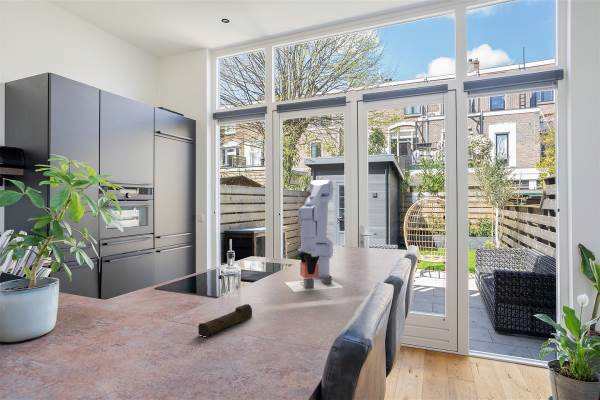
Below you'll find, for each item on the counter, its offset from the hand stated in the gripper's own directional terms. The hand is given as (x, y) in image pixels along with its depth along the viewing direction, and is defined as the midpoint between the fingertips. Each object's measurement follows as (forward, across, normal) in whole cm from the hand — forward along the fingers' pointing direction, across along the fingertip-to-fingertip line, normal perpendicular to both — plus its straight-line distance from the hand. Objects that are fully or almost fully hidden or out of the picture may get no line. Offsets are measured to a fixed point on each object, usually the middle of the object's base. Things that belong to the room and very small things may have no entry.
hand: (308, 272), depth 134 cm
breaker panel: (+7, -3, +3) cm, 9 cm away
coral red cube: (+2, 0, 0) cm, 2 cm away
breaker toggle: (+6, 0, 0) cm, 6 cm away
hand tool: (+8, +27, -33) cm, 43 cm away
